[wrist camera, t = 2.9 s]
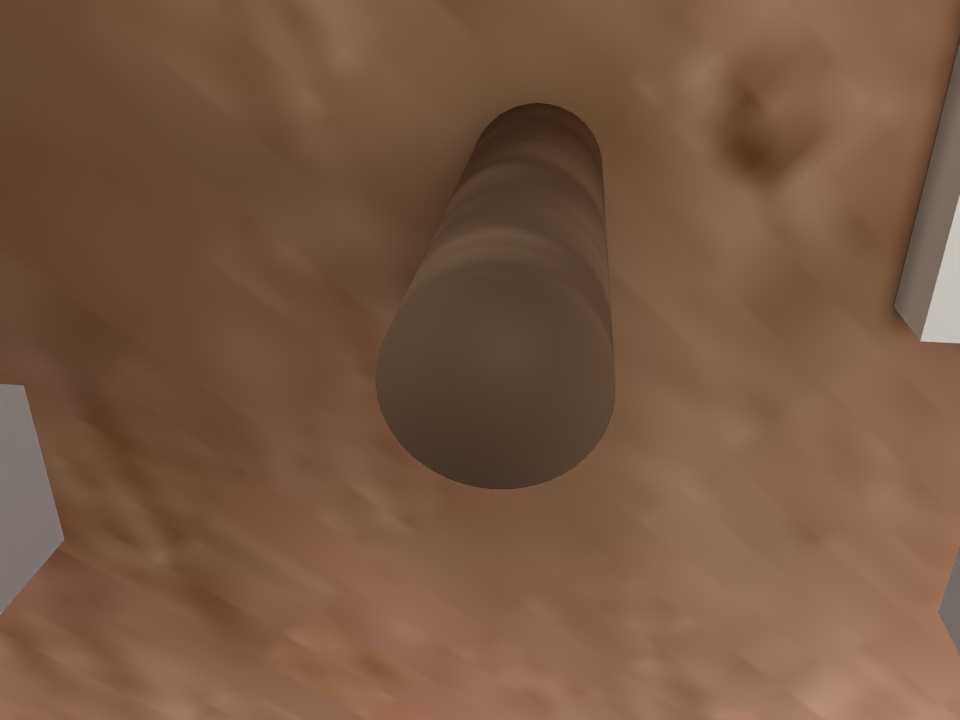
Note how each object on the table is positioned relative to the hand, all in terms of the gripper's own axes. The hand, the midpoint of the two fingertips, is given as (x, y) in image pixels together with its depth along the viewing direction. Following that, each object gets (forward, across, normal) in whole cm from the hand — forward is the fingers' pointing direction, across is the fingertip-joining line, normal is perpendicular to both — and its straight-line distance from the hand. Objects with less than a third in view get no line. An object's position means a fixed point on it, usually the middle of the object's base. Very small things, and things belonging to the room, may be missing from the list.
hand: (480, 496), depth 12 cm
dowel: (+17, 0, 0) cm, 17 cm away
